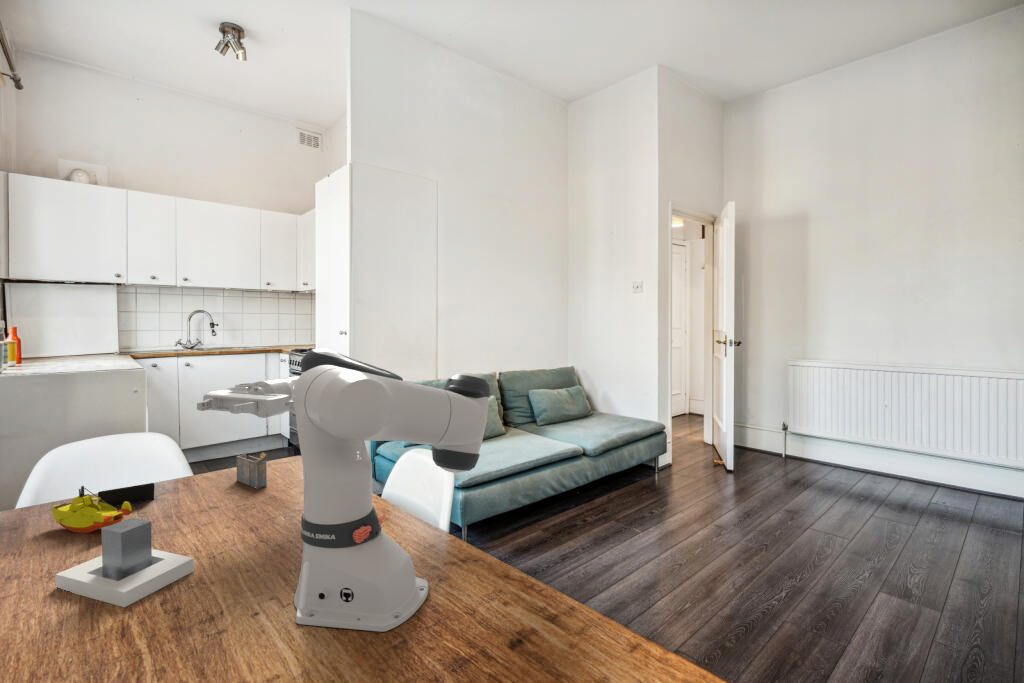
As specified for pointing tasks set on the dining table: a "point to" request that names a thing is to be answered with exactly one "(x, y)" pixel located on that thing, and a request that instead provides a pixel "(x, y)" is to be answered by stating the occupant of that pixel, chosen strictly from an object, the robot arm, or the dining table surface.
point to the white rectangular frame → (130, 589)
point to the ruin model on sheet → (251, 470)
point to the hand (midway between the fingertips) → (215, 408)
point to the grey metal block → (126, 548)
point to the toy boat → (88, 513)
